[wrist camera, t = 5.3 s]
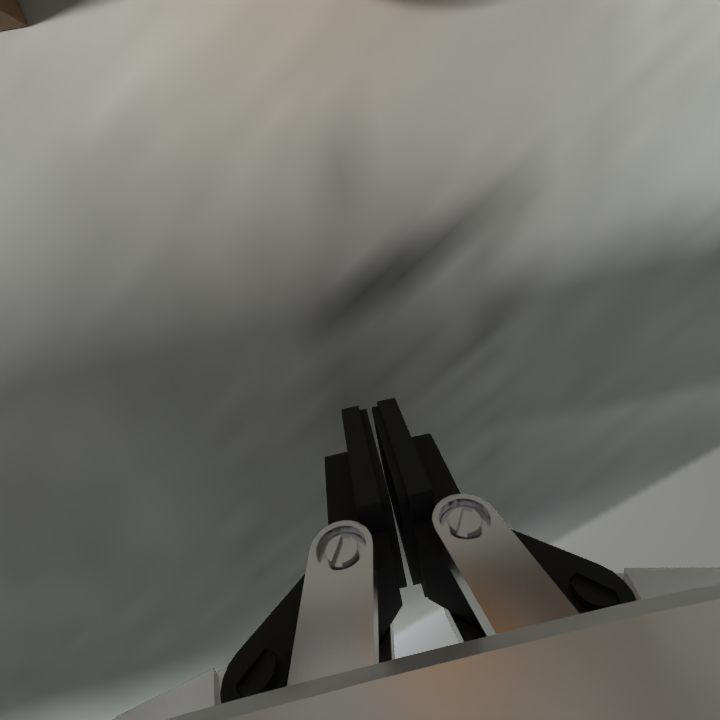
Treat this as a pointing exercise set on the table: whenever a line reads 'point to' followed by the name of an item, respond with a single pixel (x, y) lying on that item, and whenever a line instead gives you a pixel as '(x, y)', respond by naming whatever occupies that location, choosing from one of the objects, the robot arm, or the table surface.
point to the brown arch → (11, 15)
